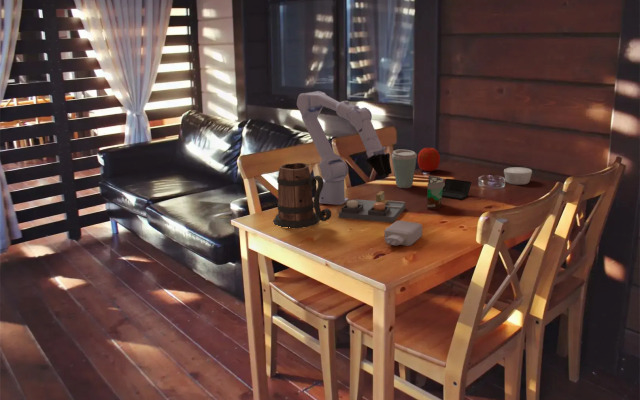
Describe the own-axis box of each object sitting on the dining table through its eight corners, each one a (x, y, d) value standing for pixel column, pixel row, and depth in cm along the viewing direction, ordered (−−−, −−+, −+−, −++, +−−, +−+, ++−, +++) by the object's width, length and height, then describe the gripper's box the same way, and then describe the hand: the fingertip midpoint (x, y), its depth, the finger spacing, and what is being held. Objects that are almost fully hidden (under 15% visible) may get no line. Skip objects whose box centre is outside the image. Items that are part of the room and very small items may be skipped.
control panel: (338, 217, 210) (338, 208, 209) (354, 204, 225) (353, 195, 224) (393, 222, 203) (393, 213, 202) (405, 208, 218) (405, 199, 217)
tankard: (262, 222, 208) (259, 167, 202) (293, 210, 220) (291, 158, 215) (314, 235, 194) (312, 176, 188) (344, 221, 206) (343, 166, 200)
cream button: (345, 208, 210) (345, 202, 209) (348, 204, 213) (348, 199, 213) (355, 209, 208) (355, 203, 208) (359, 205, 212) (359, 200, 211)
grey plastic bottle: (376, 248, 181) (395, 233, 193) (404, 253, 177) (422, 237, 189) (376, 234, 180) (395, 219, 192) (404, 238, 175) (422, 223, 188)
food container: (444, 210, 214) (445, 184, 211) (427, 210, 215) (427, 183, 212) (444, 200, 226) (444, 175, 223) (428, 200, 227) (428, 175, 224)
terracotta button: (372, 210, 206) (372, 205, 206) (375, 207, 210) (375, 201, 209) (383, 211, 205) (383, 206, 204) (386, 208, 208) (386, 202, 208)
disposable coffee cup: (420, 184, 249) (421, 149, 245) (410, 190, 240) (410, 155, 236) (398, 181, 255) (398, 147, 250) (387, 187, 246) (387, 152, 242)
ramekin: (497, 181, 251) (498, 169, 249) (517, 177, 255) (518, 165, 254) (516, 187, 241) (517, 174, 240) (537, 183, 245) (538, 171, 244)
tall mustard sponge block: (376, 205, 215) (376, 194, 214) (380, 201, 220) (380, 191, 219) (384, 205, 214) (384, 195, 213) (388, 202, 219) (388, 191, 218)
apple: (417, 173, 268) (417, 148, 264) (417, 168, 277) (417, 144, 274) (439, 173, 266) (440, 148, 263) (439, 168, 275) (439, 144, 272)
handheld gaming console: (434, 194, 230) (442, 171, 232) (437, 200, 236) (445, 178, 238) (463, 201, 225) (471, 178, 227) (465, 207, 231) (473, 185, 234)
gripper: (373, 134, 201) (389, 170, 200) (386, 135, 214) (401, 169, 213) (355, 143, 204) (371, 179, 203) (369, 143, 217) (384, 177, 216)
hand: (385, 174), depth 208 cm, fingers open, 7 cm apart
